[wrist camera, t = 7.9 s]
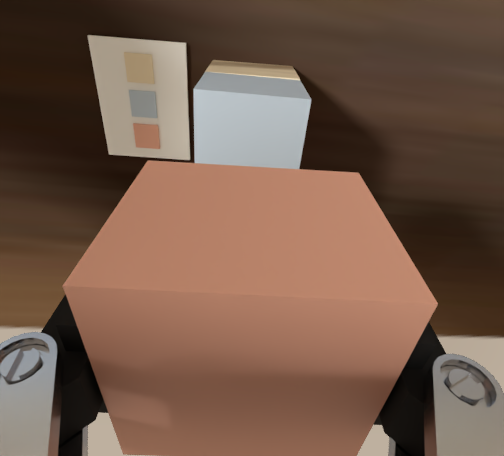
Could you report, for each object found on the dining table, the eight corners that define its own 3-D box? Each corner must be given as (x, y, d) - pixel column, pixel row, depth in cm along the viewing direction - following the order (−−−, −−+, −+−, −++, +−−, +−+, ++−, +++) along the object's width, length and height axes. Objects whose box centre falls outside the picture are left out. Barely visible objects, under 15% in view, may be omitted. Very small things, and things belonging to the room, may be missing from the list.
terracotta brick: (147, 160, 9) (62, 286, 5) (358, 172, 10) (438, 303, 5) (166, 307, 13) (122, 454, 9) (321, 314, 13) (352, 462, 9)
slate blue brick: (205, 71, 21) (193, 88, 17) (300, 80, 21) (311, 99, 17) (205, 161, 24) (195, 194, 20) (286, 167, 24) (293, 201, 20)
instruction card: (89, 35, 24) (86, 35, 24) (186, 42, 24) (185, 43, 24) (110, 153, 29) (108, 155, 29) (190, 158, 29) (189, 160, 29)
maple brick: (213, 59, 25) (205, 71, 21) (292, 66, 25) (299, 78, 21) (212, 137, 28) (205, 161, 24) (282, 142, 29) (287, 166, 24)
